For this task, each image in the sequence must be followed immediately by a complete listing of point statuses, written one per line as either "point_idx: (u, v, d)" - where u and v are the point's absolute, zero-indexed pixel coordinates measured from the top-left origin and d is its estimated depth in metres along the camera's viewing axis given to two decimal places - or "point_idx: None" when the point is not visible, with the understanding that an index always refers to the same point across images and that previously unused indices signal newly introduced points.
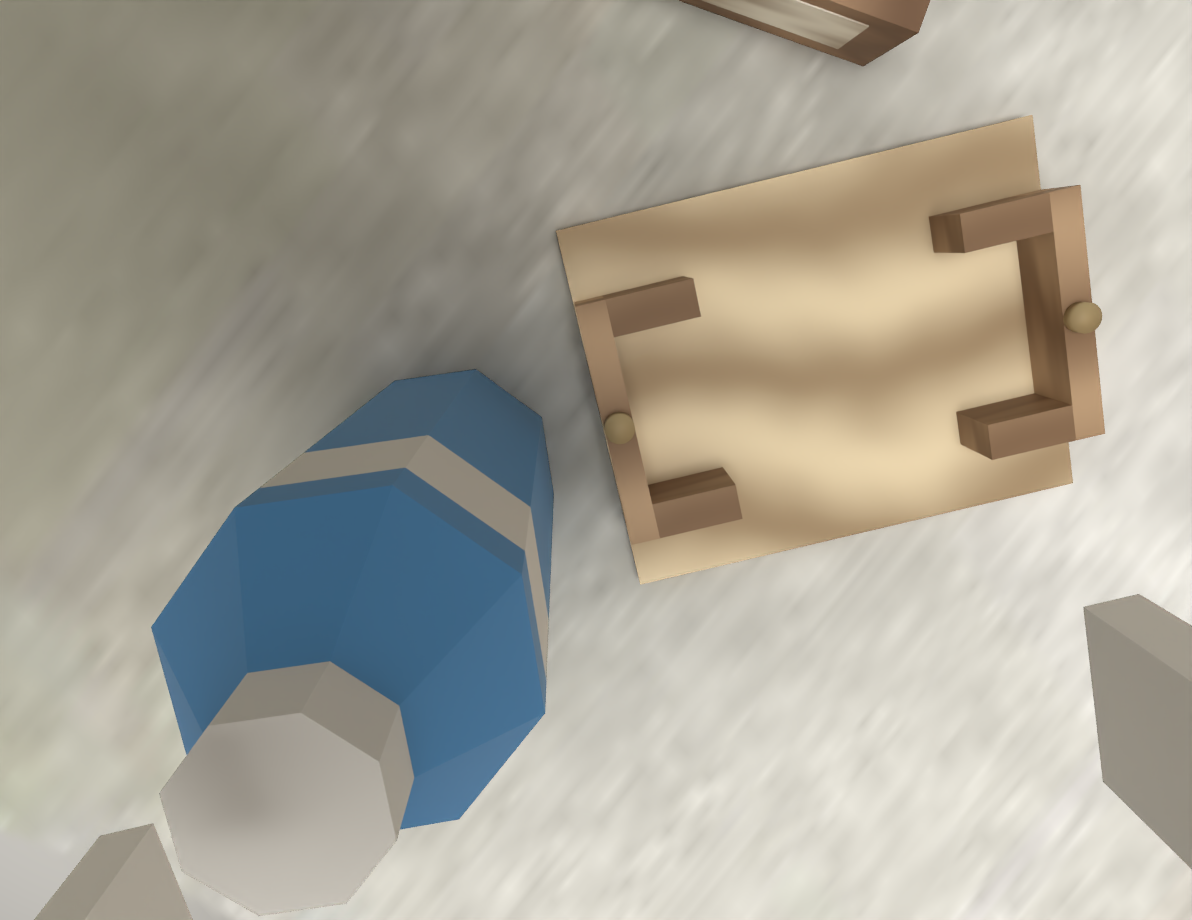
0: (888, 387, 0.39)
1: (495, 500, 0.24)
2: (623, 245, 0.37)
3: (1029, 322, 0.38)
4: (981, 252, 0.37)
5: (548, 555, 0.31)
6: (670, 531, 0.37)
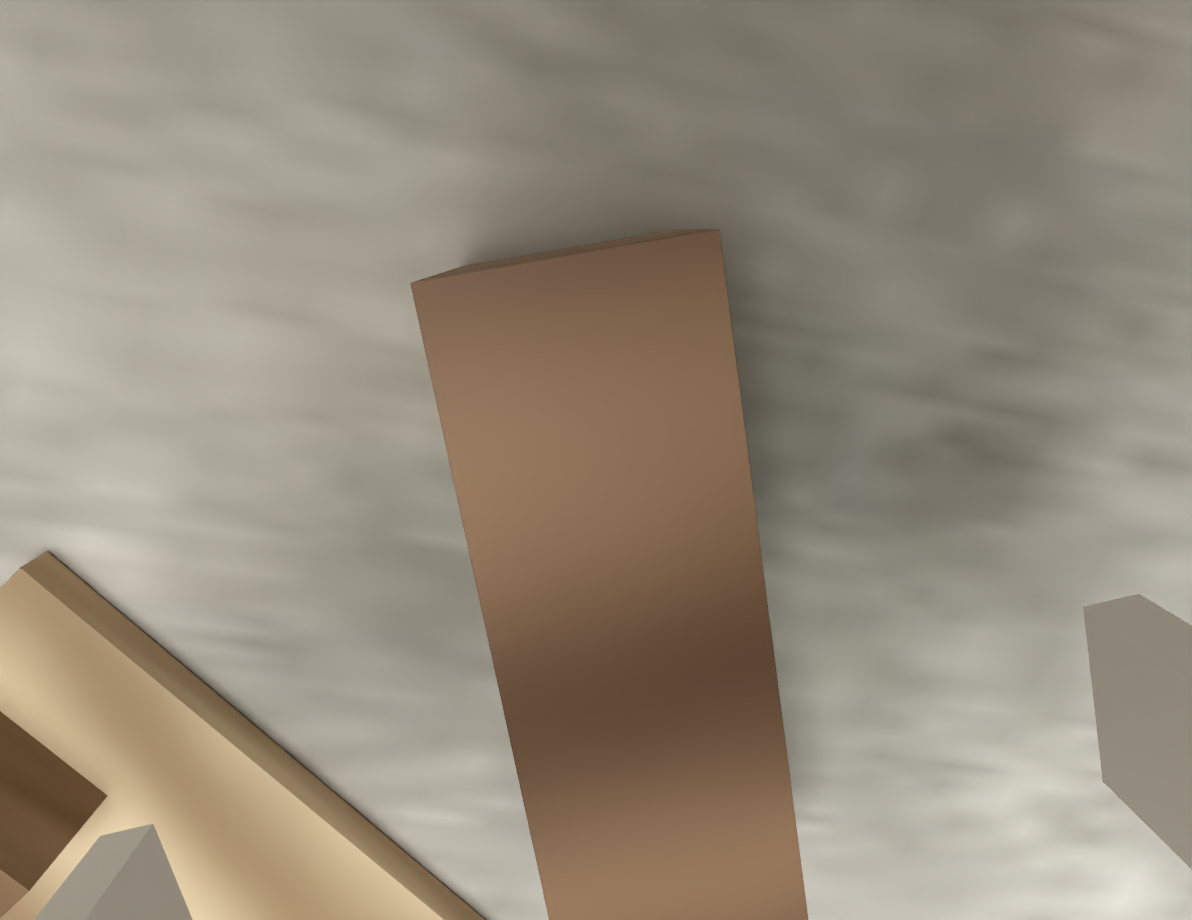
0: None
1: None
2: (81, 684, 0.19)
3: None
4: None
5: None
6: None
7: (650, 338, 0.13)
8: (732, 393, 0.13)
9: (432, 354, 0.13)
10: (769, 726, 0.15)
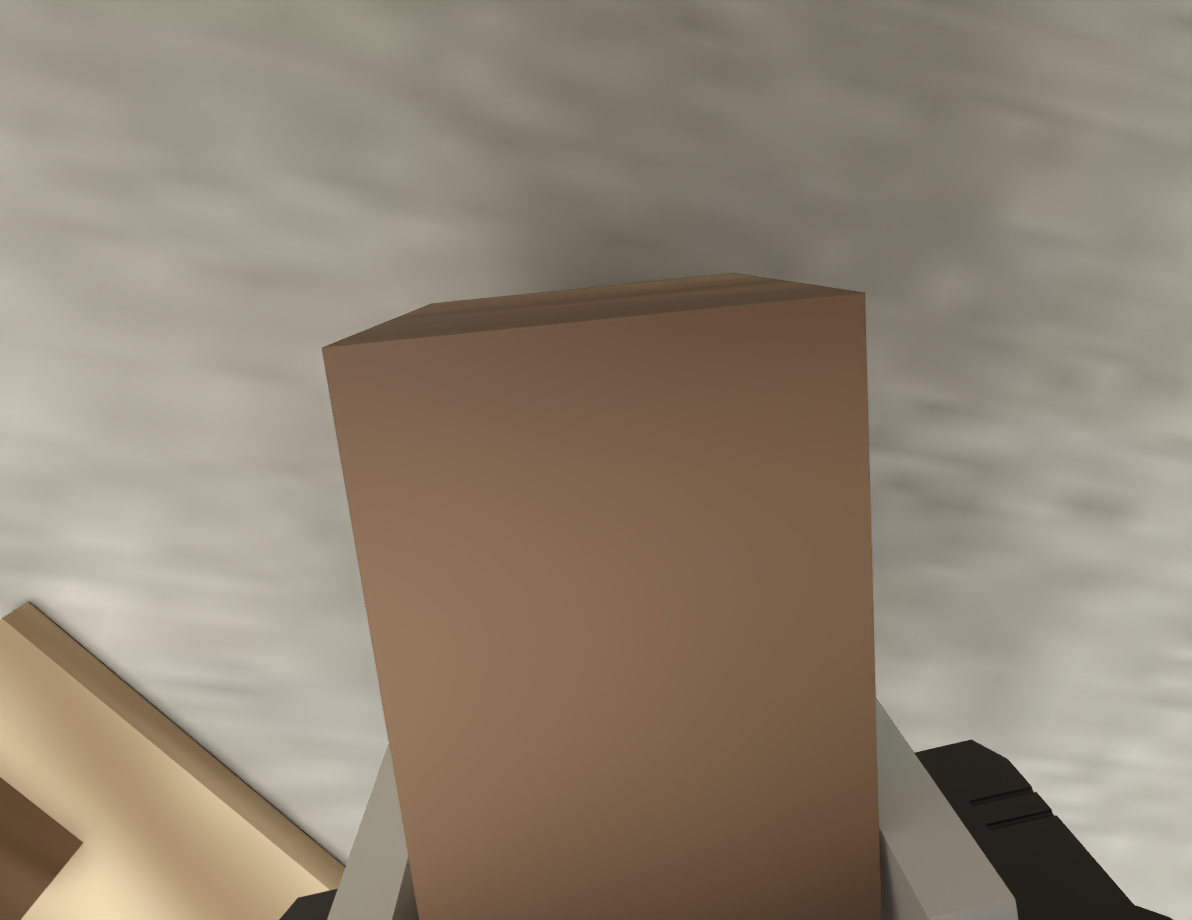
0: None
1: None
2: (59, 732, 0.20)
3: None
4: None
5: None
6: None
7: (729, 466, 0.08)
8: (859, 566, 0.08)
9: (353, 470, 0.08)
10: None
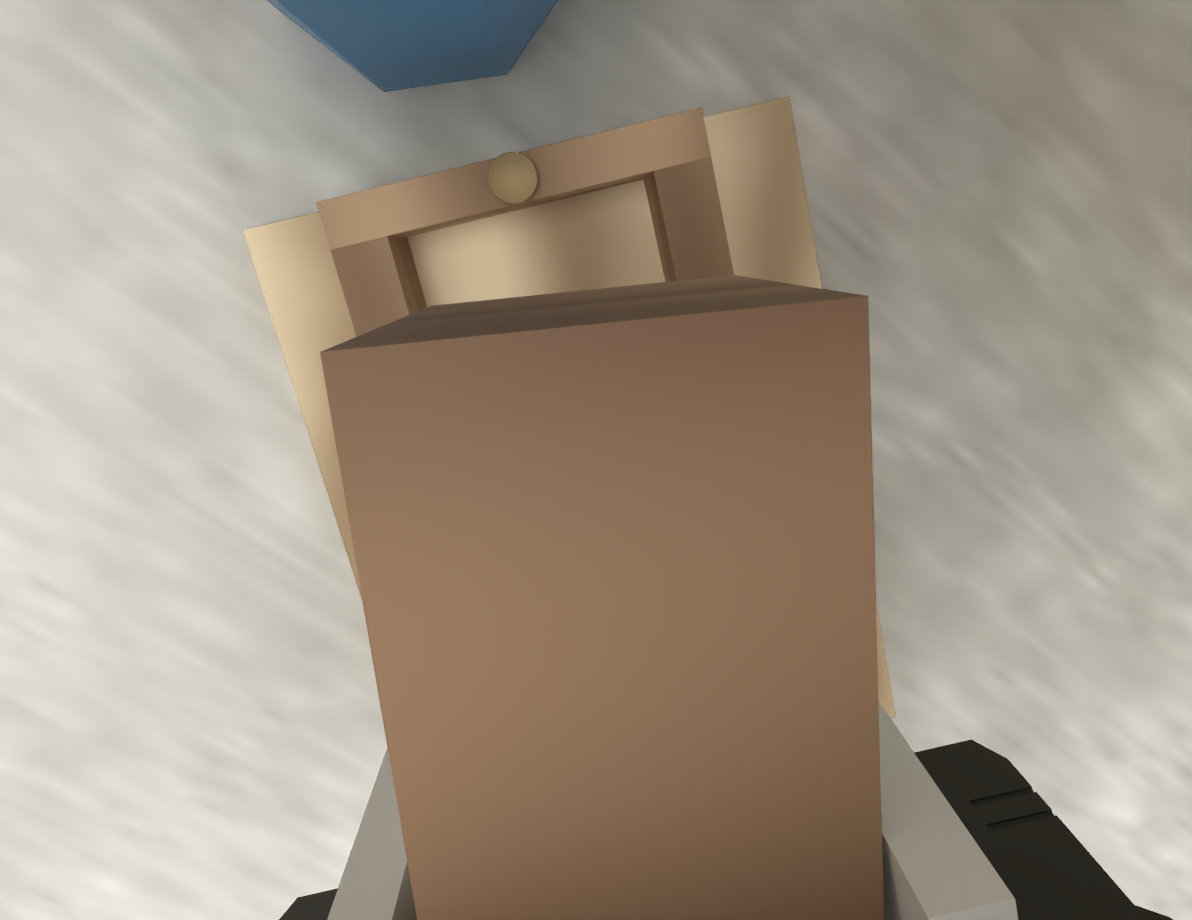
0: None
1: None
2: (763, 200, 0.26)
3: None
4: None
5: None
6: (343, 267, 0.23)
7: (731, 471, 0.08)
8: (862, 572, 0.08)
9: (352, 475, 0.07)
10: None
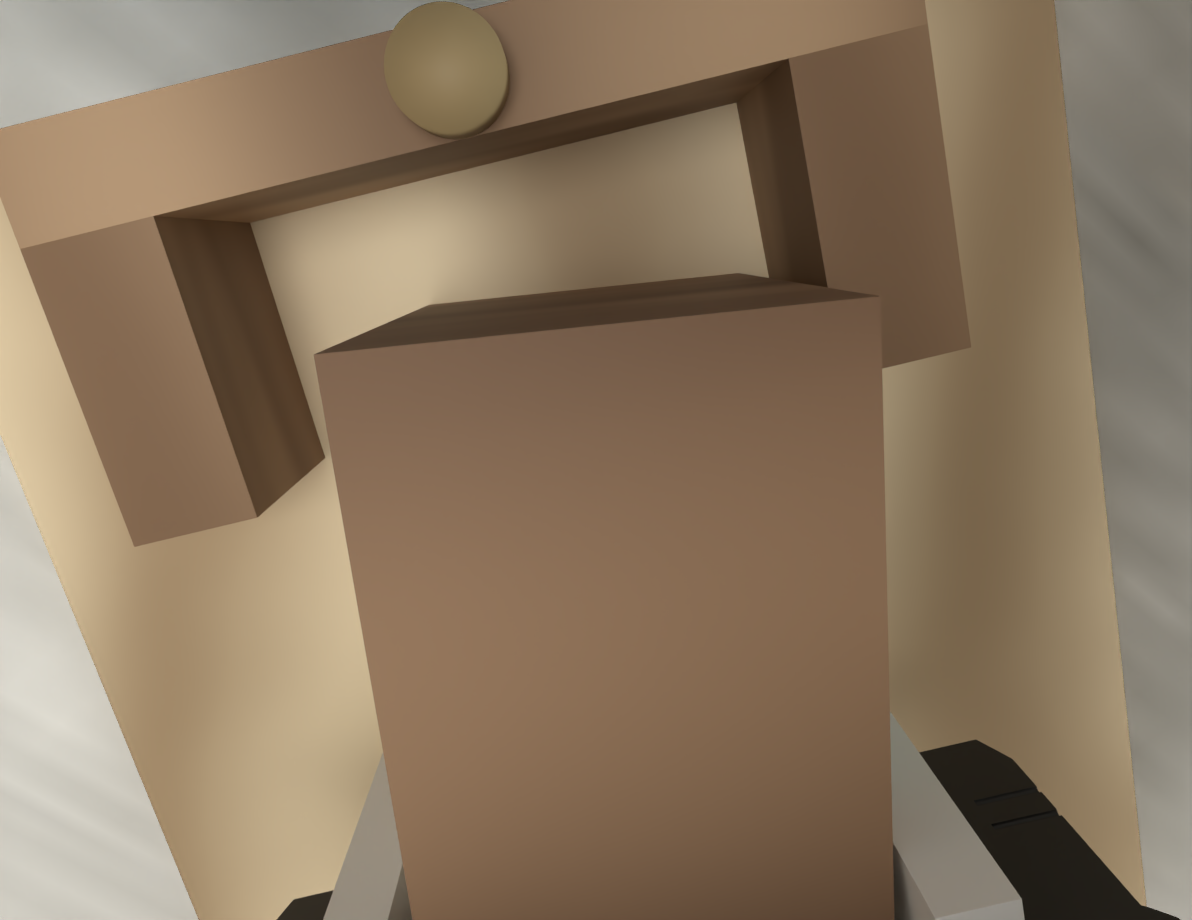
0: None
1: None
2: (981, 146, 0.13)
3: None
4: None
5: None
6: (53, 289, 0.10)
7: (740, 478, 0.07)
8: (873, 580, 0.08)
9: (347, 482, 0.07)
10: None
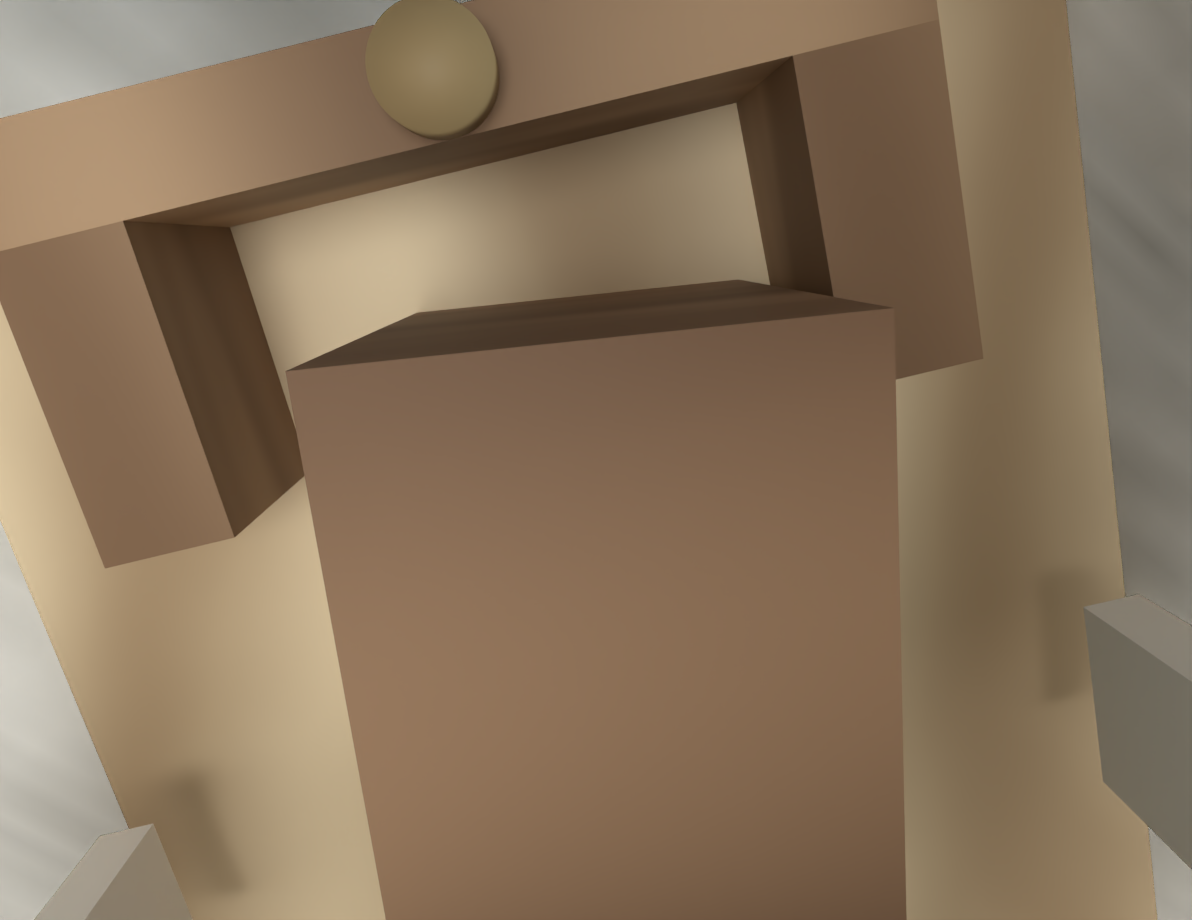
0: None
1: None
2: (989, 147, 0.12)
3: None
4: None
5: None
6: (17, 298, 0.09)
7: (742, 502, 0.07)
8: (886, 611, 0.07)
9: (322, 507, 0.07)
10: None
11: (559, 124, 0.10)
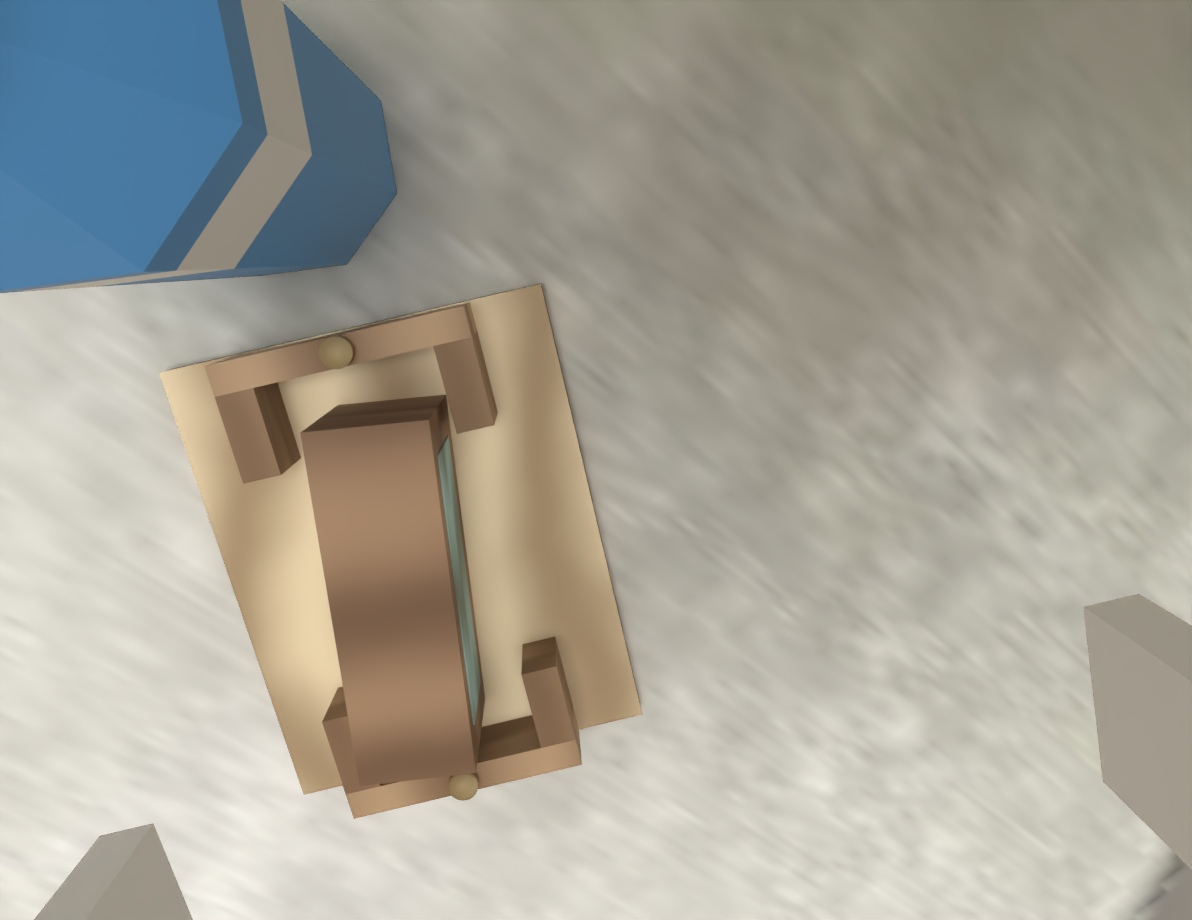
0: None
1: (238, 232, 0.21)
2: (526, 352, 0.37)
3: None
4: (523, 686, 0.40)
5: (180, 279, 0.27)
6: (223, 408, 0.34)
7: (399, 461, 0.32)
8: (433, 485, 0.32)
9: (307, 461, 0.31)
10: (450, 632, 0.33)
11: None
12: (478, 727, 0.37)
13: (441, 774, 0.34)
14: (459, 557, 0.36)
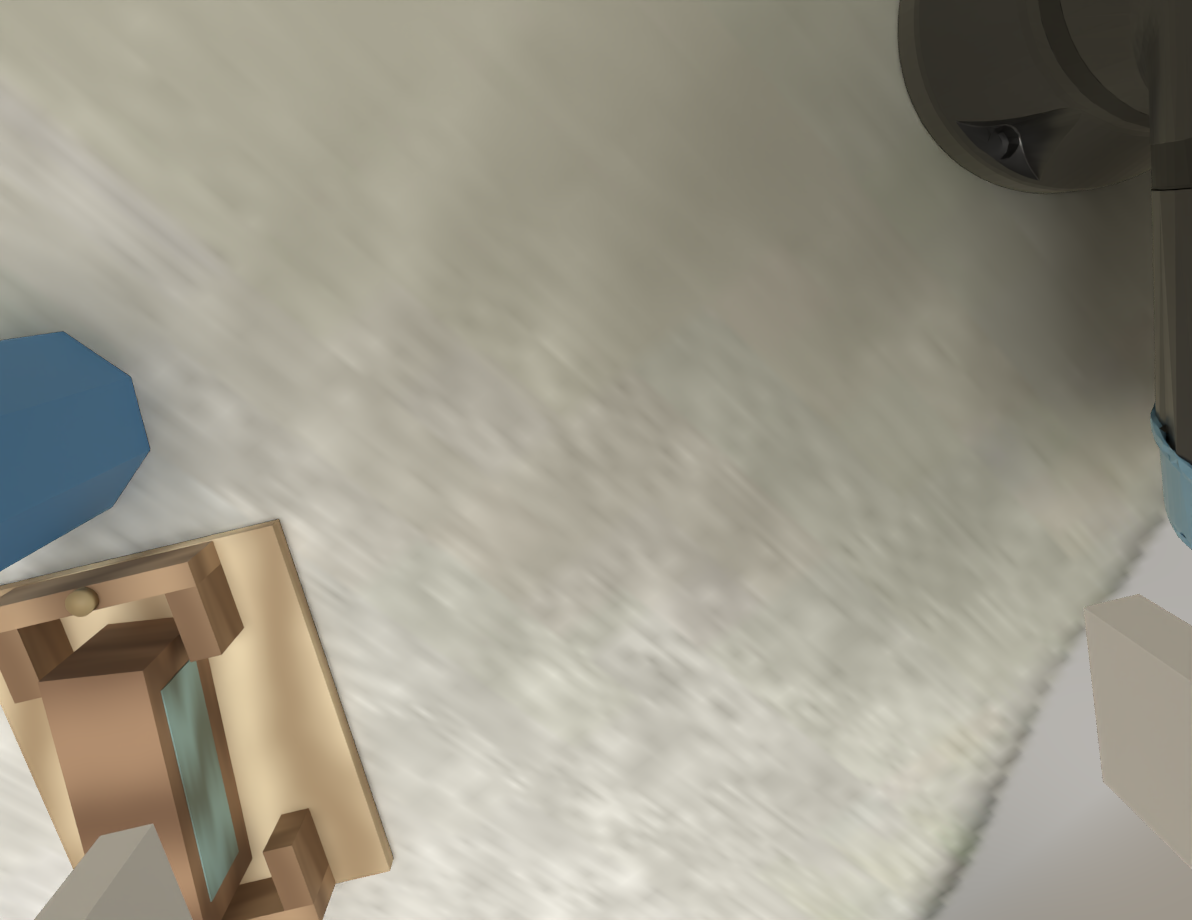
0: None
1: None
2: (264, 580, 0.44)
3: None
4: None
5: None
6: None
7: (121, 702, 0.38)
8: (151, 721, 0.39)
9: (45, 704, 0.38)
10: (176, 834, 0.40)
11: None
12: (226, 896, 0.44)
13: None
14: (201, 759, 0.42)
